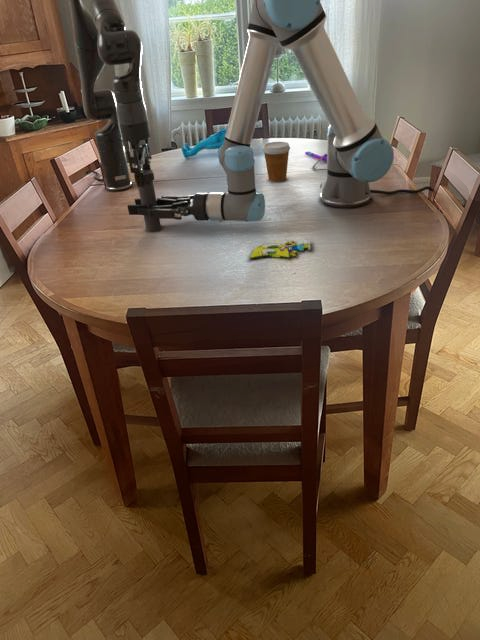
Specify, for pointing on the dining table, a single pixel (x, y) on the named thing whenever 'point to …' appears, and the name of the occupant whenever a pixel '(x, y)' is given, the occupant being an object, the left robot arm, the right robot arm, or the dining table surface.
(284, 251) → the toy
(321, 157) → the musical instrument
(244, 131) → the right robot arm
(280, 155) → the disposable coffee cup
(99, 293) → the dining table surface
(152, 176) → the lid
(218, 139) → the toy
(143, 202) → the jar
